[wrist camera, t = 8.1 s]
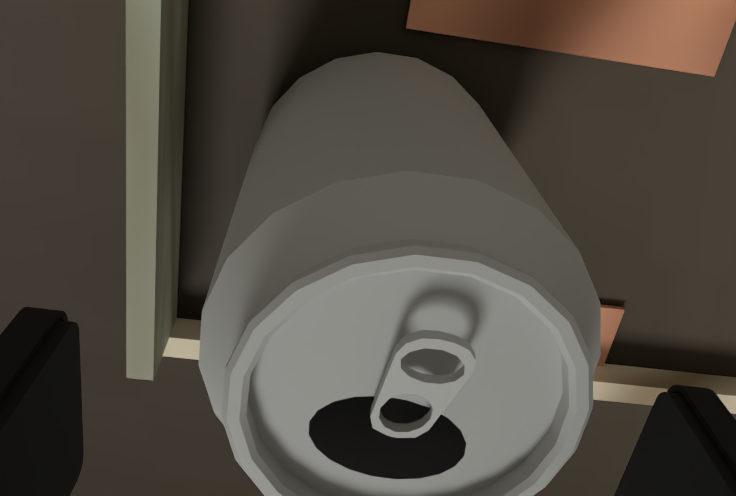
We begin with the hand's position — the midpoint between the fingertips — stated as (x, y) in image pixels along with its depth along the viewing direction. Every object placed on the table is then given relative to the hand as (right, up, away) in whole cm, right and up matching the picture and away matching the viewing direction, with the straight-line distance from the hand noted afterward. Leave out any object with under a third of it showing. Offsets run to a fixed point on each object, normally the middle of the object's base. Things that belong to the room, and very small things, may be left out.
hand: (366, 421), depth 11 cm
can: (0, +6, +11) cm, 12 cm away
